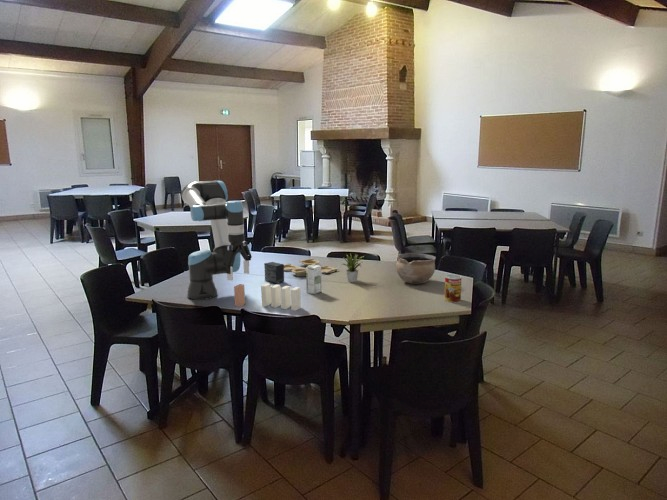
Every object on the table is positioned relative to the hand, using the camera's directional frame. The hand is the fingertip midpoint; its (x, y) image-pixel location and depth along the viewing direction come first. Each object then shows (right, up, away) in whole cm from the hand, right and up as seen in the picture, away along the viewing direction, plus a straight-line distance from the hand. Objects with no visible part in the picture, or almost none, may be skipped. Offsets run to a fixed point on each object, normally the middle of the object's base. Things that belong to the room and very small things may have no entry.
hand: (238, 276), depth 241 cm
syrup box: (+36, -10, +23) cm, 43 cm away
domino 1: (0, -14, +3) cm, 15 cm away
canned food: (+105, -12, +6) cm, 106 cm away
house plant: (+57, -5, +42) cm, 71 cm away
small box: (+12, -5, +45) cm, 47 cm away
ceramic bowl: (+92, -5, +39) cm, 100 cm away
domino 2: (+13, -14, +4) cm, 19 cm away
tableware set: (+29, 0, +70) cm, 76 cm away
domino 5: (+28, -15, -3) cm, 32 cm away
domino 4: (+23, -15, -1) cm, 27 cm away
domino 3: (+18, -14, +1) cm, 23 cm away
